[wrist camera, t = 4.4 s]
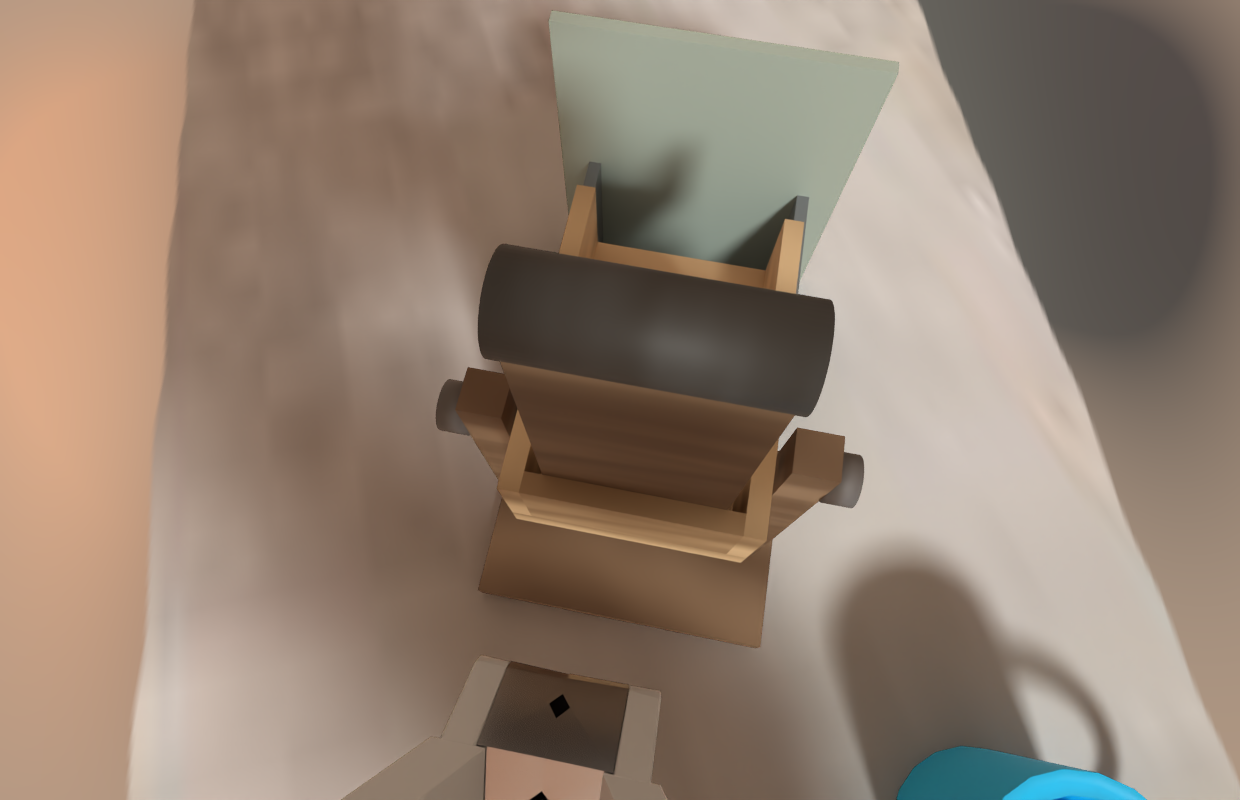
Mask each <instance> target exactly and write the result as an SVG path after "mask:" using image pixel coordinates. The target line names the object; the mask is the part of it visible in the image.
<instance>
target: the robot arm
mask: <svg viewBox="0 0 1240 800" xmlns="http://www.w3.org/2000/svg"><path fill="white" fill-rule="evenodd" d="M628 691H629V693H628ZM627 697H628V699H627ZM626 704H627V705H626ZM660 704H661V692H660V691H658V690H653V689H648V688H642V687H637V686H632V685H630V688H629V685H628V684H623V683H617V682H612V681H607V680H601V679H596V678H591V677H585V676H580V675H575V674H566V673H561V672H557V671H552V670H548V669H544V668H539V667H535V666H530V665H526V664H522V663H517V662H513V661H506V660H502V659H497V658H493V657H488V656H484V655H480V657H479V658H478V659H477V660H476V661H475V663H474V665H473V667H472V669H471V672H470V674H469V676H468V678H467V680H466V683H465V685H464V687H463V689H462V691H461V694H460V696H459V698H458V700H457V702H456V705H455V707H454V709H453V711H452V713H451V716H450V718H449V720H448V722H447V724H446V727H445V729H444V731H443V733H442V735H441V738H437V737H430V738H428V739H427V740H426V741H424V742H423V743H421V744H420V745H418V746H417V747H416V748H414V749H413V750H411V751H410V752H408V753H407V754H406V755H404V756H403V757H401V758H400V759H398V760H397V761H396V762H394V763H393V764H391V765H390V766H388V767H387V768H386V769H384V770H383V771H381V772H380V773H378V774H377V775H376V776H374V777H373V778H371V779H370V780H368V781H367V782H366V783H364V784H363V785H361V786H360V787H358V788H357V789H356V790H354V791H353V792H351V793H350V794H348V795H347V796H346V797H344V798H343V799H341V800H668V799H667V797H666V795H665V793H664V791H663V789H662V787H661V785H658V784H654V783H651V780H652V772H653V763H654V755H655V746H656V738H657V730H658V721H659V713H660Z"/></svg>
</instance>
